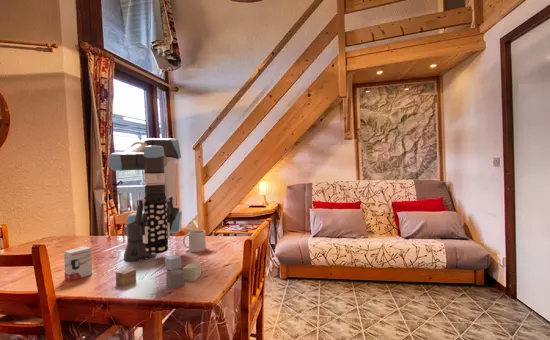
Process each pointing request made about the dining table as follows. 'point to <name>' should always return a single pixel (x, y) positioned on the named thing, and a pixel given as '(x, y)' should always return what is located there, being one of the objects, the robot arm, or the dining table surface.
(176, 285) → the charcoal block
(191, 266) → the sage block
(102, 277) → the dining table surface
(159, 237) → the spotted tube
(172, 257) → the dusty blue block
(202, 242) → the mug
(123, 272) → the walnut block
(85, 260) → the ink box
